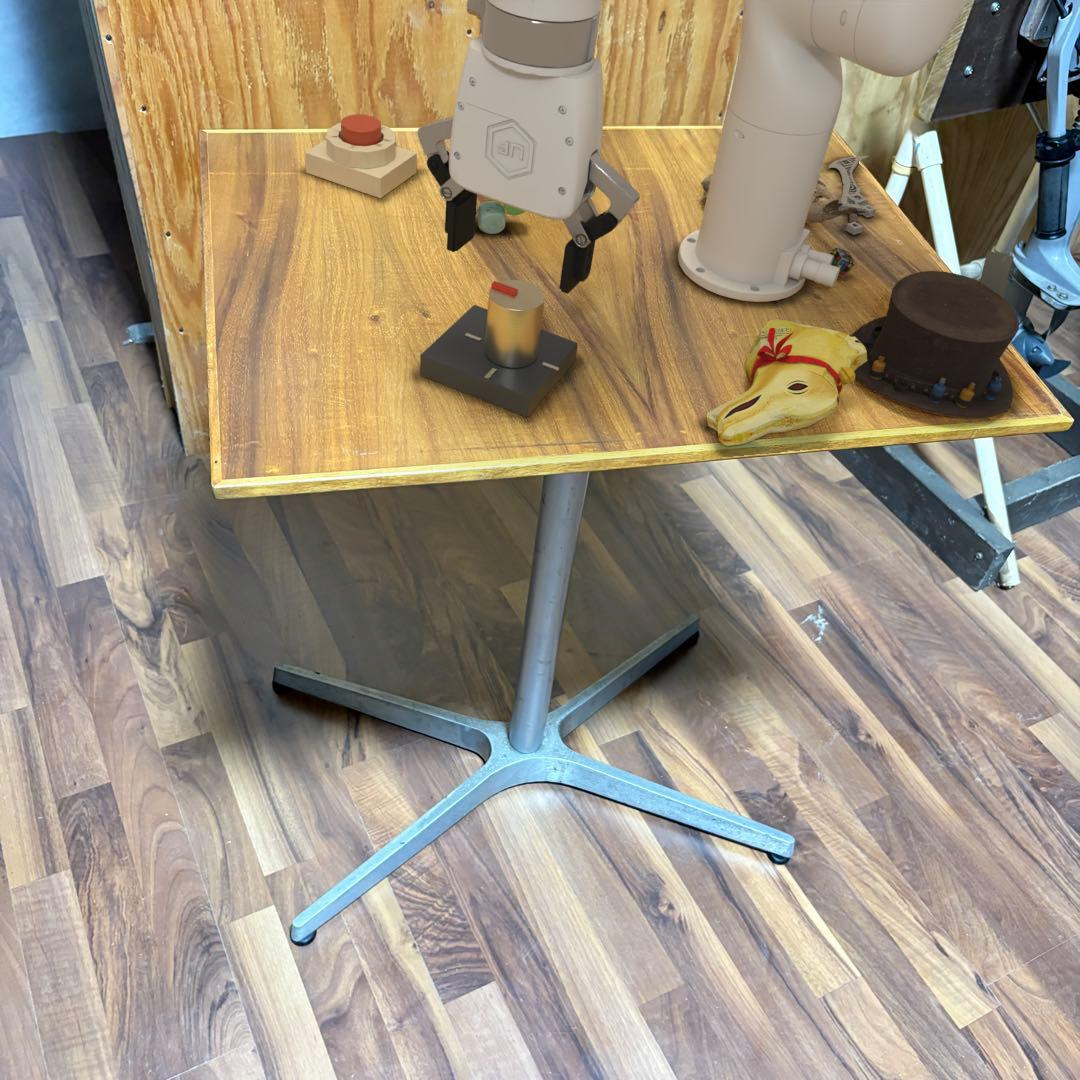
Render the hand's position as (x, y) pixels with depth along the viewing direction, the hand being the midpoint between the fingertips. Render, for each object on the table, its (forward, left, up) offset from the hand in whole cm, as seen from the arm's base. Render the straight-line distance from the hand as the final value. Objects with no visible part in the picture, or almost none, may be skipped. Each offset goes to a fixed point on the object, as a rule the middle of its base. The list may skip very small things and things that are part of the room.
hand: (515, 264), depth 82 cm
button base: (+29, -22, -10) cm, 38 cm away
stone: (-6, -44, -12) cm, 46 cm away
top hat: (-31, -21, -11) cm, 39 cm away
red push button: (+29, -22, -7) cm, 37 cm away
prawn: (-14, -43, -3) cm, 45 cm away
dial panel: (+1, 0, -10) cm, 10 cm away
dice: (+13, -20, -11) cm, 26 cm away
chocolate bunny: (-22, -15, -6) cm, 28 cm away
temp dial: (0, 0, -8) cm, 8 cm away
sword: (-14, -51, -10) cm, 53 cm away
